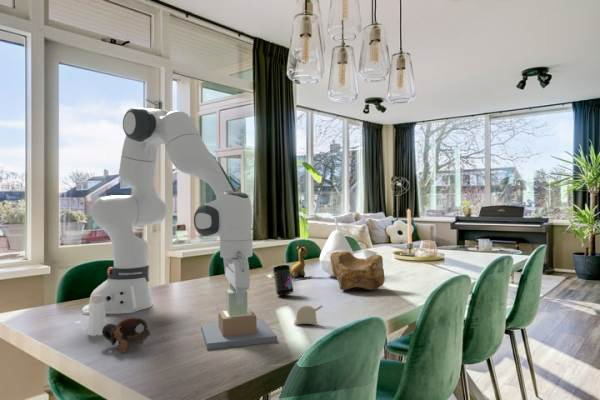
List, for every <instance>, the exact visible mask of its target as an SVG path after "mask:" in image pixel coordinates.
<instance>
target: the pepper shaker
mask: <svg viewBox="0 0 600 400" xmlns="http://www.w3.org/2000/svg"><path fill="white" fill-rule="evenodd" d="M90 296H91V295H90ZM102 296H103V295H102V294H95V295H92V296H91V297H92V304H91V305H90V311H89V315H88V323H87V332H86V333H87V334H86V335H87V336H89V335H90V337H95V336H96V335H98V336H103V335H102V334H103V333H102V330H103V328H104V326H105V325H107V318H106V314H105V307H104V303H102Z"/></svg>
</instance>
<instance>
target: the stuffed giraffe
mask: <svg viewBox="0 0 600 400" xmlns="http://www.w3.org/2000/svg"><path fill="white" fill-rule="evenodd" d="M296 249H297V251H298V261H297V262H296V263H295V264H294V265H293V266H291V267H290V272H291V278H292V281H293V282H295V281H300V280H307V279H308V280H310V279H314V278H312V277H314V275H313V276H312V275H309V276H306V272H305V266H306V263H305V259H304V257H308V255H309V253H308V250H307V248H306V247H304V246H303V245H300V244H298V245H297V247H296ZM271 277H274V274H273V275H271Z"/></svg>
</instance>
